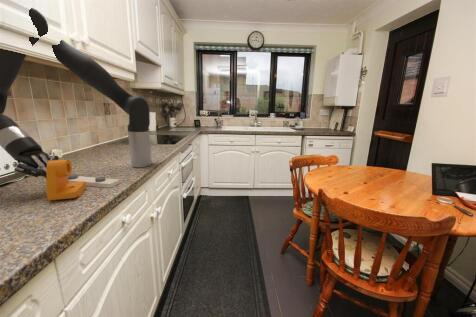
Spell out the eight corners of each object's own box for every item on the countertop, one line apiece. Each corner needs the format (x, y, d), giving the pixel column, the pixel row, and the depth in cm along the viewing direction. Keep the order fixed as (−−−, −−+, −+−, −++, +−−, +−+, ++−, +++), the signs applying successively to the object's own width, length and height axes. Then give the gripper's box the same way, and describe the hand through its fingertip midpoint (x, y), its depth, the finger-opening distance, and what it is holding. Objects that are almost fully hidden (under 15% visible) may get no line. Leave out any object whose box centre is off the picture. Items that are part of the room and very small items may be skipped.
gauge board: (66, 178, 86) (65, 172, 85) (119, 183, 82) (119, 177, 82) (53, 182, 81) (52, 176, 80) (110, 187, 77) (109, 181, 77)
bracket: (76, 200, 67) (70, 163, 64) (48, 203, 65) (40, 165, 62) (87, 187, 77) (82, 155, 74) (62, 190, 75) (56, 156, 72)
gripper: (-2, 138, 62) (42, 181, 63) (45, 133, 75) (80, 169, 76) (-12, 155, 64) (30, 196, 65) (35, 147, 77) (70, 182, 78)
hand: (57, 182), depth 70 cm, fingers closed
